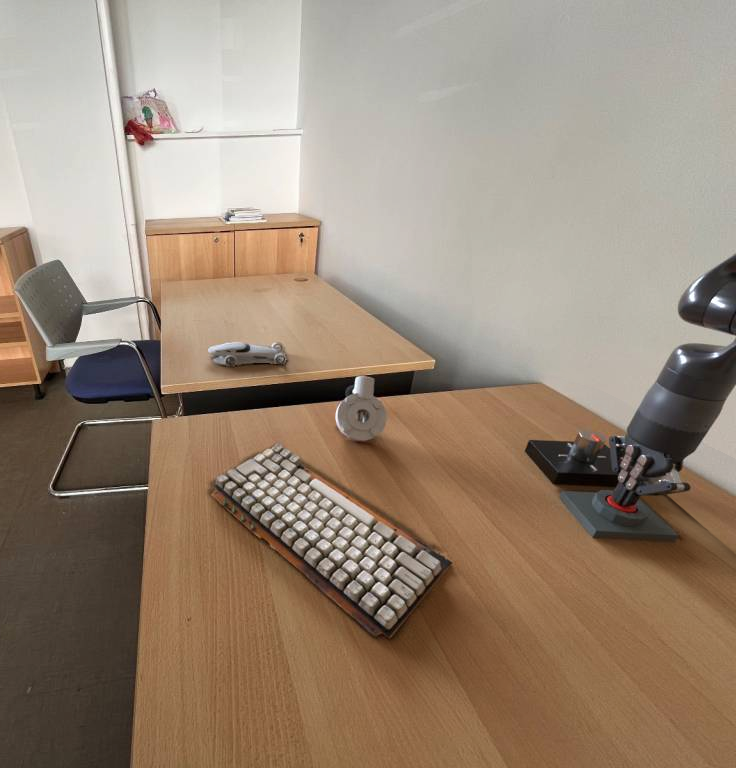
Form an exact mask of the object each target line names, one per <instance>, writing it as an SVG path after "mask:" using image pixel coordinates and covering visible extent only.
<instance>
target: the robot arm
mask: <svg viewBox="0 0 736 768" xmlns="http://www.w3.org/2000/svg"><path fill="white" fill-rule="evenodd" d="M677 314H678V316H679V318H680V319H681V320H682V321H683V322H685V323H687V324H690V325H694V326H697V327H700V328H704V329H708V330H712V331H716V332H720V333H722V334H727V335H731V336H734V337H735V338H734V340H733V341H732V342H731V343H730V344H728V345H717V344H709V343H701V342H700V343H699V342H689V343H683V344H680V345H677V347H675V348H674V349H673V350H672V351H671V353H670V354H669V356H668V358H667V360H666V361H665V362H664V365H663V367H662V369H661V370H660V372H659V374H658V376H657V377H656V379H655V381H654V383H653V384H652V385H651V386H650V388H649V389H648V390H647V391H646V393H645V395H644V396H643V398H642V400H641V402H640V404H639V406H638V407H637V409H636V411H635V413H634V415H633V416H632V418H631V420H630V422H629V424H628V426H627V427H626V434H625V436H623V435H610V436H609V438H608V442H609V443H608V444H609V448H610V454H611V465H612V470H613V471H614V472H617V473H618V475H619V476H618V480H619V483H618V484H617V486H616V487H614V489H613V496H612V499H613V500H614V501H615V502H616V503H617V504H618V505H619V506H634V505H635V504H636V503H637V501H638V500H639V498H640V499H641V496H654V497H660V496H666V495H672V494H677V493H679V494H680V493H686V492H689V491H690V490H691V485H690V484H689V483H688V482H683V481H682V479H681V475H680V473H679V472H681V471H682V470H683V466H684V459H686V458H687V457H689V456H690V455H693V453H695V452H696V451H697V449H698V448H699V446H700V445H701V443H702V442H703V440H704V438H705V437H706V435H707V434H708V433H709V431H710V429H711V428H712V426H713V425H714V424H715V422H716V420H717V419H718V418H719V416H720V415H721V413H722V411H723V407H724V405H725V403H726V401H727V399H728V397H729V396H730V394H731V393H732V391H733V390H734V389H735V387H736V252H735V253H734V254H732V255H731V256H729V257H728V258H727V259H724V260H723V261H721V262H720V263H718V264H717V265H715V266H714V267H713V268H711V269H709V270H708V271H706V272H704V274H702V275H701V276H699V277H698V278H696V279H695V280H694V281H693V282H692V283H691V284H690V285H689V286H688V287H687V288H686V289H685V290H684V291H683V293H682V294H681V296H680V298H679V300H678V303H677ZM620 458H621V459H623V460H622V462H621V464H620ZM657 482H658V483H657Z"/></svg>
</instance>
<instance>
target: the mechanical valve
mask: <svg viewBox="0 0 736 768" xmlns="http://www.w3.org/2000/svg"><path fill="white" fill-rule="evenodd" d="M374 387H375V378H373V377H372V376H371V377H370V376H364V375H361V376H356V377H355V379H354V384H352V385H349V386H347V388H346V390H345V398H344V399H342V401H341V402H340V403H339V405H338V406H337V408H336V411H335V423H336V426H337V427H338V430H339V431H340V433H341V434H342V435H344V436H345V437H346V438H348V439H350V440H353V441H356V442H364V441H370V440H372V439H375V438H376V437H378V436H379V435H380V434H381V433H382V432H383V431H384V429H385V427H386V425H387V421H388V415H387V410H386V408H385V406H384V403H383V402H382V400H380V399H379V398H377V397H376V396H374V392H375V388H374ZM357 414H358V415H357Z"/></svg>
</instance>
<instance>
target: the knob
mask: <svg viewBox="0 0 736 768" xmlns="http://www.w3.org/2000/svg"><path fill="white" fill-rule="evenodd" d="M606 442H607V437H606V436H605V435H603V434H602V433H601V432H598V431H595V430H592V429H585V428H584V429H580V430H578V433H577V435H576V436H575V439H574V443H573V445H572V447H571V449H570V451H569V454H570V455H571V456H572V457H573V458H574V459H576V460H578V461H581V462H585V463H593V462H595V461H596V459H597V457H598V455H599V453H600V451H601V449H602V447H603V445H604V444H606Z"/></svg>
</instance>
